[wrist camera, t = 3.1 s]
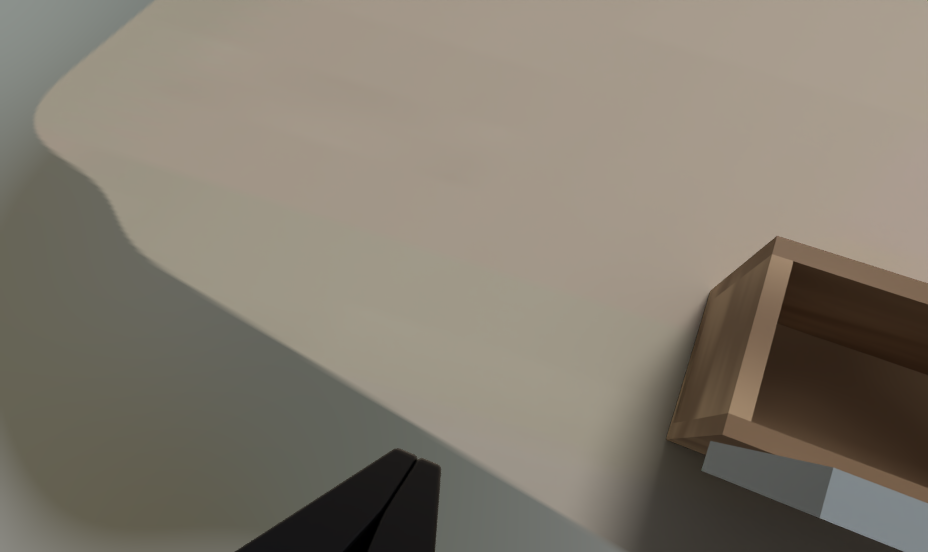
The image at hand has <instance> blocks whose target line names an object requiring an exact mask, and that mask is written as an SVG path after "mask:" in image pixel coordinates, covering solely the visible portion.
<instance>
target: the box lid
mask: <svg viewBox="0 0 928 552" xmlns="http://www.w3.org/2000/svg"><path fill="white" fill-rule="evenodd" d="M701 471H704V472H706V473H709V474H711V475H714V476H716V477H719V478H721V479H724V480H726V481H729V482H731V483H733V484H736V485H738V486H741V487H743V488H746V489H748V490H751V491H753V492H756V493H758V494H761V495H763V496H766V497H768V498H771V499H773V500H776V501H778V502H781V503H783V504H786V505H788V506H791V507H793V508H796V509H798V510H800V511H803V512H805V513H808V514H810V515H813V516H815V517H818V518H820V519H823V520H825V521H828V522H830V523H833V524H835V525H838V526H840V527H843V528H846V529H848V530H851V531H853V532H856V533H858V534H861V535H863V536H866V537H868V538H871V539H873V540H876V541H878V542H881V543H883V544H886V545H888V546H891V547H893V548H896V549H898V550H901V551H903V552H928V503H925V502H923V501H920V500H918V499H915V498H912V497H910V496H907V495H904V494H902V493H899V492H896V491H894V490H891V489H889V488H886V487H883V486H881V485H878V484H875V483H873V482H870V481H868V480H865V479H862V478H860V477H857V476H854V475H852V474H849V473H846V472H844V471H841V470H839V469H836V468H833V467H829V466H824V465H819V464H815V463H810V462H806V461H801V460H796V459H792V458H787V457H783V456H778V455H773V454H769V453H764V452H759V451H755V450H750V449H746V448H741V447H736V446H732V445H727V444H722V443H718V442H713V441H710V444H709V447H708V450H707V454H706V457H705V460H704V463H703V467H702V470H701Z"/></svg>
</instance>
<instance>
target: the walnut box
mask: <svg viewBox="0 0 928 552" xmlns="http://www.w3.org/2000/svg"><path fill="white" fill-rule="evenodd" d="M666 440H669V441H671V442H674V443H676V444H679V445H681V446H684V447H686V448H689V449H692V450H694V451H697V452H699V453H702V454H704V455H706V454H707V450H708V447H709V444H710V441H713V442H718V443H722V444H727V445H732V446H736V447H741V448H746V449H750V450H755V451H759V452H764V453H769V454H773V455H778V456H783V457H787V458H792V459H796V460H801V461H806V462H810V463H815V464H819V465H824V466H829V467H833V468H836V469H839V470H841V471H844V472H846V473H849V474H852V475H854V476H857V477H860V478H862V479H865V480H868V481H870V482H873V483H875V484H878V485H881V486H883V487H886V488H889V489H891V490H894V491H896V492H899V493H902V494H904V495H907V496H910V497H912V498H915V499H918V500H920V501H923V502H925V503H928V283H925V282H922V281H918V280H915V279H912V278H909V277H906V276H903V275H899V274H896V273H893V272H890V271H887V270H884V269H880V268H877V267H874V266H871V265H868V264H865V263H861V262H858V261H855V260H852V259H849V258H846V257H843V256H839V255H836V254H833V253H830V252H827V251H824V250H820V249H817V248H814V247H811V246H808V245H805V244H801V243H798V242H795V241H792V240H789V239H786V238H782V237H779V236H776V237H775V238H774V239H773V240H772V241H770V242H769V243H768V244H767V245H765V246H764V247H763V248H762V249H761V250H759V251H758V252H757V253H756V254H755V255H753V256H752V257H751V258H750V259H748V260H747V261H746V262H745V263H744V264H742V265H741V266H740V267H739V268H738V269H736V270H735V271H734V272H733V273H731V274H730V275H729V276H728V277H727V278H725V279H724V280H723V281H722V282H721V283H719V284H718V285H717V286H716V287H714V288H713V289H712V290H711V291H710V294H709V297H708V301H707V304H706V307H705V311H704V314H703V317H702V321H701V324H700V327H699V331H698V334H697V337H696V341H695V344H694V347H693V351H692V354H691V357H690V361H689V364H688V367H687V371H686V374H685V377H684V381H683V384H682V387H681V391H680V394H679V398H678V401H677V404H676V408H675V411H674V414H673V418H672V421H671V424H670V428H669V431H668V434H667V438H666Z"/></svg>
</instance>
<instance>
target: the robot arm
mask: <svg viewBox="0 0 928 552" xmlns="http://www.w3.org/2000/svg"><path fill="white" fill-rule="evenodd" d="M440 477H441V467H440V466H439V465H438V464H436V463H433V462H431V461H428V460H426V459H423V458H420V459H417V456H415V455H414V454H411V453H409V452H406V451H404V450H402V449H399V448H397V449H393V450H392V451H390V452H389V453H387V454H386V455H384V456H382V457H381V458H379V459H378V460H376V461H375V462H373V463H372V464H370V465H368V466H367V467H366V468H364V469H362V470H361V471H359V472H358V473H356V474H355V475H353V476H352V477H350V478H348V479H347V480H345V481H344V482H342V483H341V484H339V485H337V486H336V487H334V488H333V489H331V490H330V491H329V492H327V493H325V494H324V495H322V496H320V497H319V498H317V499H316V500H314V501H313V502H311V503H310V504H308V505H306V506H305V507H303V508H302V509H300V510H299V511H297V512H296V513H294V514H293V515H291V516H289V517H288V518H286V519H285V520H283V521H282V522H280V523H278V524H277V525H275V526H274V527H272V528H271V529H269V530H268V531H266V532H265V533H263V534H261V535H260V536H258V537H257V538H256V539H254V540H252V541H251V542H249V543H247V544H246V545H244V546H243V547H241V548H240V549H238V550H237V551H235V552H435V544H436V531H437V518H438V505H439V491H440Z"/></svg>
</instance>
